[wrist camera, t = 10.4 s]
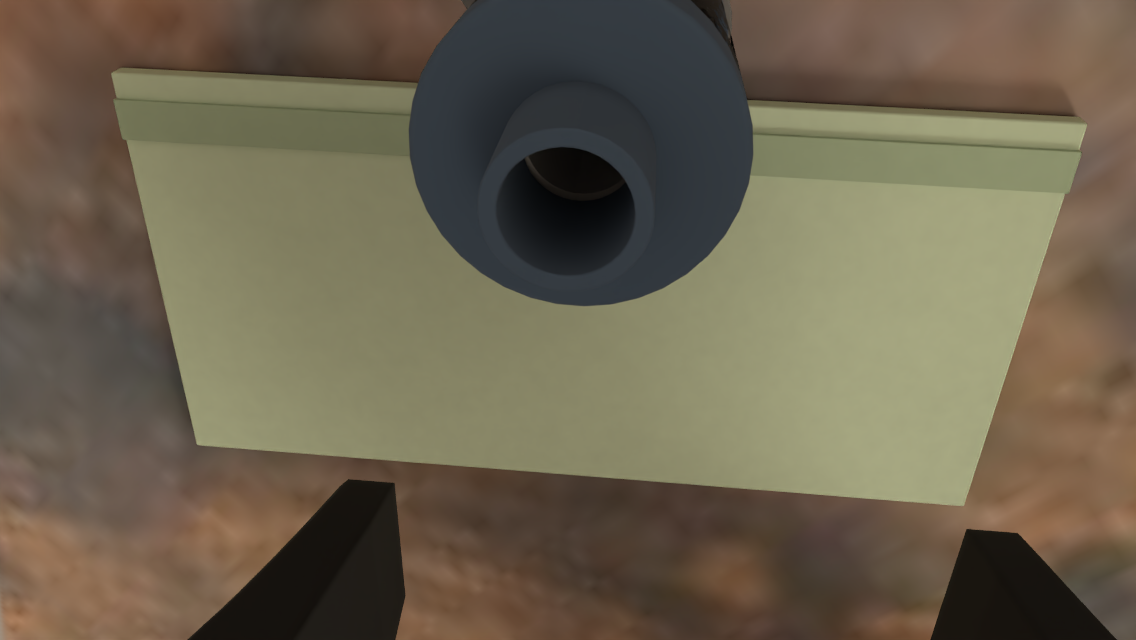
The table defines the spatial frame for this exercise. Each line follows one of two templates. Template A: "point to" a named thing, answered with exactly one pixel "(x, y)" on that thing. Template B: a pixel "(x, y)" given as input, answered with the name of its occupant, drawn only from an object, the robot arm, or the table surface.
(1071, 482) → the table surface
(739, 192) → the vaping device
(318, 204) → the tray
